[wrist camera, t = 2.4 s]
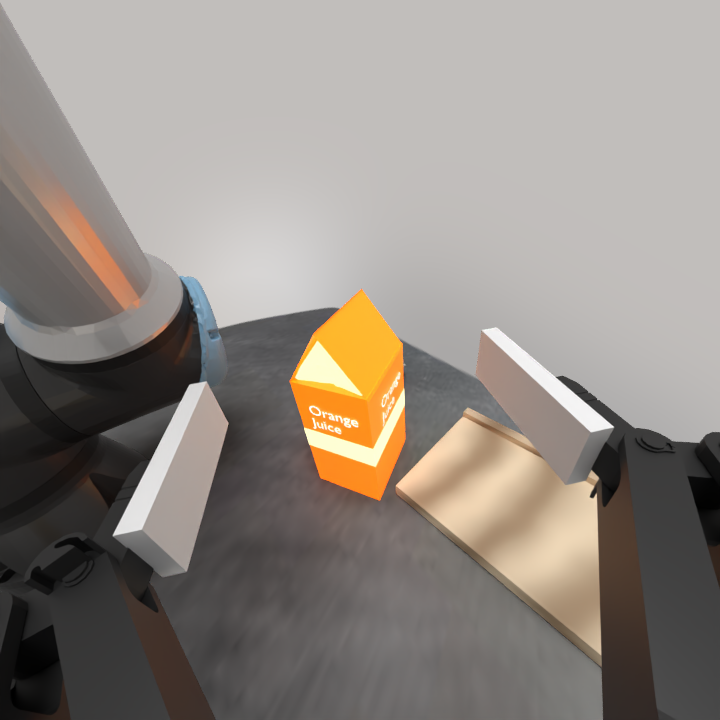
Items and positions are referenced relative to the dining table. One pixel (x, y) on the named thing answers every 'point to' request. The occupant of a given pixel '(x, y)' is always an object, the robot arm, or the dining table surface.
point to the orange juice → (353, 397)
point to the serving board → (516, 521)
